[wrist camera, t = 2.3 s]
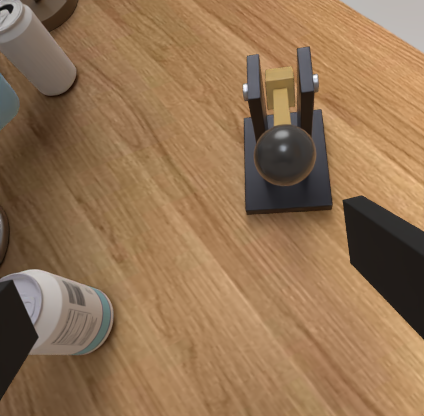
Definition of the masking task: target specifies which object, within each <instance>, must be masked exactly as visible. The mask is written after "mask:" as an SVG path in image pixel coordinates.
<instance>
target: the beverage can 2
mask: <svg viewBox="0 0 424 416" xmlns="http://www.w3.org/2000/svg"><path fill="white" fill-rule="evenodd" d="M11 279H13V281H14V284H15V286H16V288H17V290H18V292H19V295H20V297H21V299H22V301H23V303H24V306H25V308H26V310H27V312H28V314H29V317H30V319H31V321H32V323H33V325H34V328H35V330H36V332H37V334H38V336H39V338H38V340H37V341H36V343H35V344H34V346H33V348H32V349H31V351H30V353H29V354H28V355H84V354H88V353H90V352H93V351H94V350H96V349H97V348H98V347H100V346H101V345H102V344H103V343H104V341H105V340H106V338H107V337H108V335H109V333H110V331H111V328H112V324H113V307H112V304H111V302H110V300H109V298H108V297H107V296H106V295H105V294H104V293H103V292H102V291H100V290H98V289H96V288H93V287H90V286H87V285H84V284H81V283H78V282H75V281H72V280H69V279H66V278H63V277H60V276H58V275H55V274H52V273H49V272H46V271H43V270H37V269H31V270H25V271H22V272H19V273H13V274H9V275H7V276H4V277H3V278H1V279H0V282H3V281H7V280H11Z"/></svg>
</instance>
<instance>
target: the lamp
mask: <svg viewBox="0 0 424 416" xmlns="http://www.w3.org/2000/svg"><path fill="white" fill-rule="evenodd" d="M20 1H21V2H22V4H24V5H27V6H28V7H29V8H30V9H31V10H32V11H33V13H34V14H35V15H36V17H37V18H38V19H39V20H40V22H41V23H42V24H43V26H44V27H45V28H46V30H47V31H48V32H49V31H51V30H53V29H55V28H57V27H58V26H60V25H61V24H62V23H64V22H65V21H66V20H67V19H68V18H69V17H70V15H71V14H72V13H73V11H74V9H75V7H76V5H77V0H20Z"/></svg>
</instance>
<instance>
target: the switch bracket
mask: <svg viewBox="0 0 424 416" xmlns="http://www.w3.org/2000/svg"><path fill="white" fill-rule="evenodd" d="M318 90H319V81H318V74H313V72H312V62H311V53H310V47H303V48H297V112H293V113H290V118H291V125H295V126H298V127H300V128H302V129H303V130H305V131H306V132H307V133H308V134H309V135H310V137H311V138H312V140H313V142H314V144H315V148H316V160H315V164H314V167H313V169H312V171H311V172H310V174H309V175H308V176H307V177H306V178H305V179H303V180H302V181H300V182H299V183H297V184H294V185H290V186H278V185H274V184H272V183H270V182H268V181H266V180H265V179H264V178H263V177H262V176H261V175H260V174H259V172H258V171H257V169H256V166H255V163H254V149H255V146H256V143H257V141H258V139H259V138H260V136H261V135H262V134H263V133H264V132H265V131H267V130H268V129H270V128H271V127H274V115H267V113H266V106H265V98H264V90H263V82H262V75H261V67H260V59H259V54H256V55H249V56H247V83H246V84H243V96H244V101H248V104H249V109H250V114H251V117H249V118H244V155H245V209H246V213H247V215H250V214H266V213H283V212H299V211H316V210H331V209H332V196H331V187H330V179H329V170H328V161H327V153H326V144H325V135H324V127H323V118H322V110H321V109H319V110H313V109H314V93H315V92H318Z"/></svg>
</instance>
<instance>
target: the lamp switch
mask: <svg viewBox="0 0 424 416" xmlns="http://www.w3.org/2000/svg"><path fill="white" fill-rule="evenodd" d="M265 84H266V95H267V107H268V110H271V109H273V110H274V127H271V128H270V129H268V130H267V131H265V132H264V133H263V134H262V135H261V136H260V138H259V139H258V141H257V143H256V146H255V149H254V163H255V166H256V169H257V171H258V172H259V174H260V175H261V176H262V177H263V178H264V179H265V180H266V181H268V182H270V183H272V184H274V185H278V186H290V185H294V184H297V183H299V182H300V181H302V180H303V179H305V178H306V177H307V176H308V175H309V174H310V172H311V171H312V169H313V167H314V164H315V160H316V148H315V144H314V142H313V140H312V138H311V137H310V135H309V134H308V133H307V132H306V131H305V130H303V129H302V128H300V127H298V126H295V125H291V118H290V109H289V107H295V89H294V75H293V68H292V66H289V67H282V68H275V69H268V70H266V72H265Z"/></svg>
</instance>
